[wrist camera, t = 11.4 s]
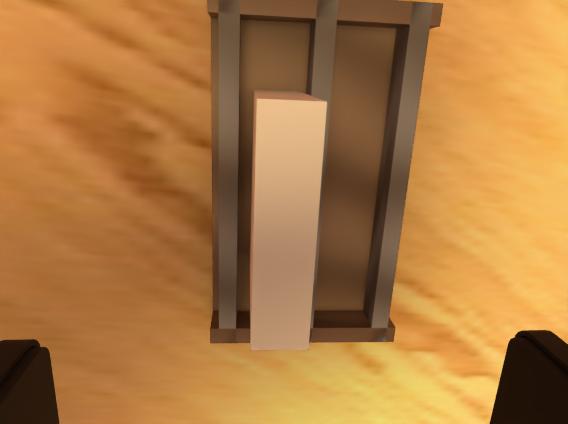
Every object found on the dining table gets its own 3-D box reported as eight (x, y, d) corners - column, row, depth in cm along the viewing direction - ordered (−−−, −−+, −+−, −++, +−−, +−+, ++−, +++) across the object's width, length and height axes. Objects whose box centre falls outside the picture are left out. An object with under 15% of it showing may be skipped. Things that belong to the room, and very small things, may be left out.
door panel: (289, 259, 26) (308, 349, 18) (249, 259, 26) (250, 350, 17) (298, 90, 23) (327, 101, 14) (253, 88, 23) (257, 98, 14)
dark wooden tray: (379, 315, 29) (393, 341, 26) (214, 315, 28) (210, 343, 25) (419, 12, 23) (443, 3, 20) (212, -2, 22) (207, -12, 19)
